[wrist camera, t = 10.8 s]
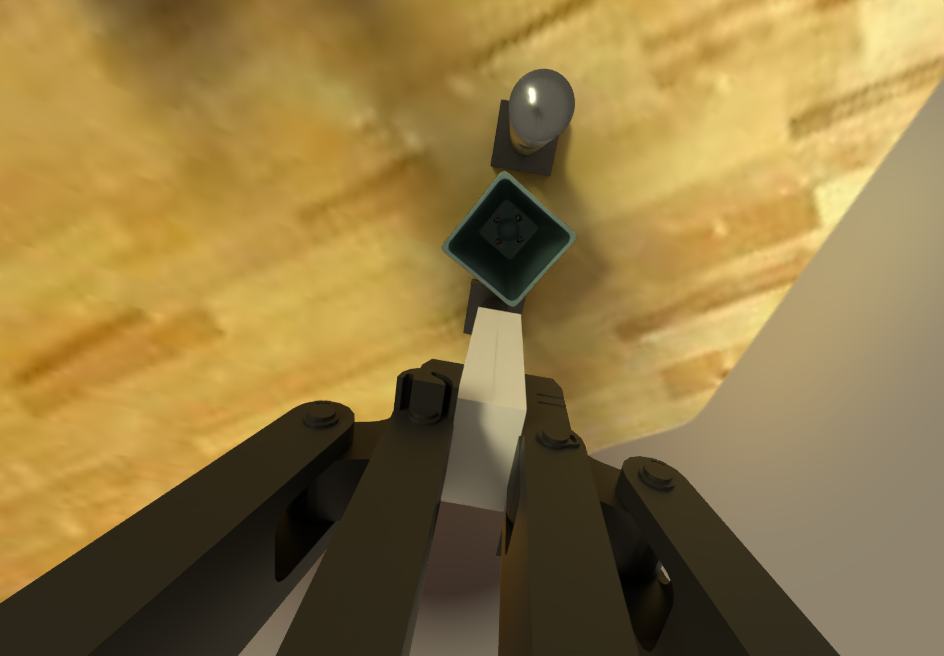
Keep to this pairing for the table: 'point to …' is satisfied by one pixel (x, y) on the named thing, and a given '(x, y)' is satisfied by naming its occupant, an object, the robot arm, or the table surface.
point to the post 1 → (485, 304)
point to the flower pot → (509, 239)
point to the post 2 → (533, 122)
